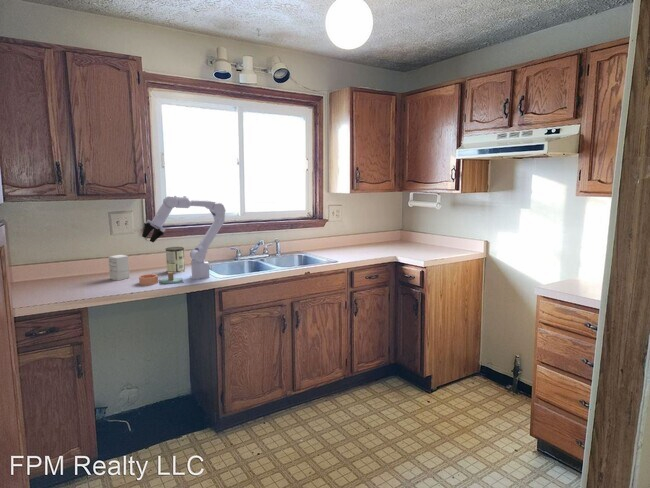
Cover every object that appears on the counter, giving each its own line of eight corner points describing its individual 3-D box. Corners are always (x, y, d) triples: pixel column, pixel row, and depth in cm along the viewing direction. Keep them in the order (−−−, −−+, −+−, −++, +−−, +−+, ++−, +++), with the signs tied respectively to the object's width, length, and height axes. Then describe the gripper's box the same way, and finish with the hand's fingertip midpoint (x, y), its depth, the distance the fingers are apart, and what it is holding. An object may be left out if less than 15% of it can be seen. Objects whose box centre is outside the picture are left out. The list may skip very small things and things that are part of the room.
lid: (180, 278, 234) (180, 269, 234) (182, 282, 224) (182, 273, 224) (159, 280, 230) (158, 271, 229) (160, 284, 220) (160, 275, 219)
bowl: (157, 280, 229) (157, 273, 229) (158, 284, 221) (158, 277, 221) (139, 282, 226) (138, 275, 225) (139, 286, 218) (139, 278, 217)
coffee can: (171, 269, 258) (170, 246, 256) (187, 269, 257) (186, 246, 255) (163, 273, 248) (162, 249, 246) (180, 273, 247) (179, 249, 245)
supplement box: (121, 276, 239) (120, 254, 237) (130, 278, 235) (128, 255, 233) (109, 279, 233) (107, 256, 231) (117, 280, 229) (116, 257, 227)
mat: (181, 278, 235) (181, 277, 235) (184, 283, 224) (184, 282, 224) (158, 280, 230) (158, 279, 230) (159, 285, 219) (159, 285, 219)
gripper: (147, 209, 224) (134, 232, 222) (163, 217, 216) (149, 241, 214) (157, 215, 230) (144, 237, 228) (173, 223, 222) (159, 246, 220)
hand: (147, 239), depth 221 cm, fingers open, 7 cm apart
